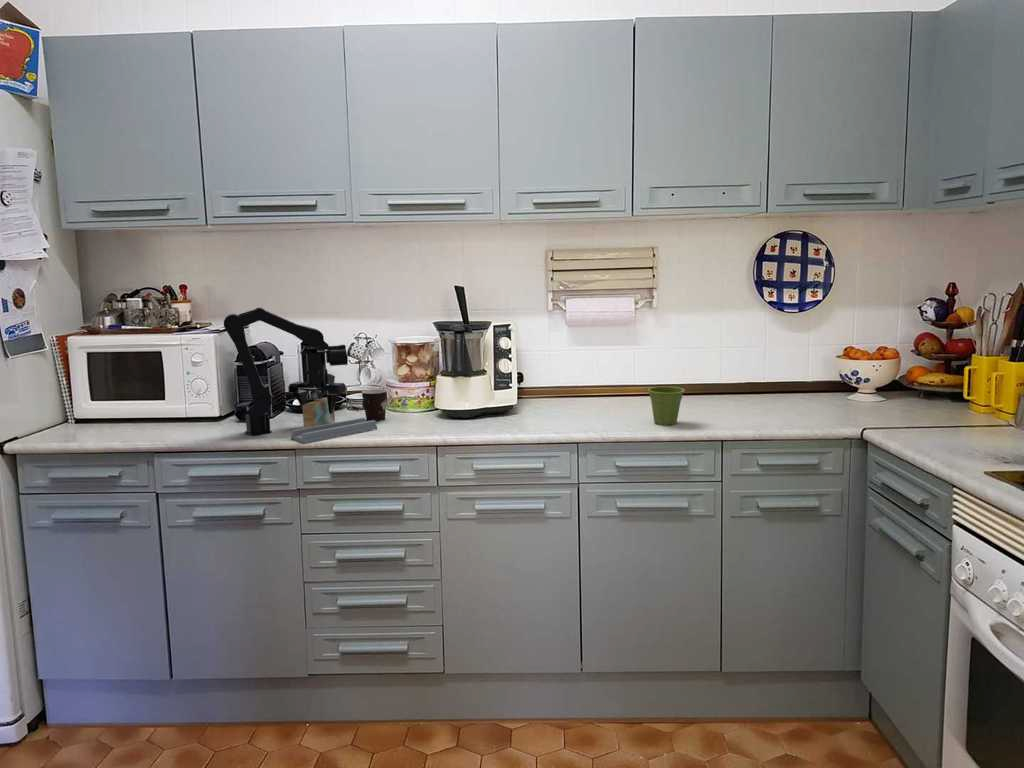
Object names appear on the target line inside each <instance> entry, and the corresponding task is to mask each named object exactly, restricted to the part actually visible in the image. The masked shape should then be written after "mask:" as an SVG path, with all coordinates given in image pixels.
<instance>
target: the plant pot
mask: <svg viewBox="0 0 1024 768" xmlns="http://www.w3.org/2000/svg"><path fill="white" fill-rule="evenodd" d="M647 391H648V392H649V393H648V394H649V398H650V402H651V408H652V416H653V422H654V423H655V424H657V425H660V426H669V425H676V424H677V423H678V417H679V412H680V407H681V401H682V399H683V394H684V392H685V391H686V389H684V388H681V387H677V386H654V387H653V386H652V387H649V388H647Z"/></svg>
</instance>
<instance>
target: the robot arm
mask: <svg viewBox="0 0 1024 768" xmlns="http://www.w3.org/2000/svg"><path fill="white" fill-rule="evenodd" d="M257 322H262V323H265V324H268V325H269V326H272V327H274V328H276V329H279V330H281V331H283V332H285V333H288V334H291V335H293V336H295V337H296V338H297V339H299V340H300V341H302V342H303V343H305V344H307V345H308V346H310V348H308V347H306V346H303V347H302V349H301V350H299V353H300V355H305V356H306V358H305V359H306V370H304V374H305V375H307V381H295V382H292V383H289V384H288V387H287V390H288V393H291V394H292V396H294V397H295V398H296V401H298V403H299V405H300V407H302V405H304V404H307V403H308V394H309V391H317V392H319V391H320V392H321V391H322V392H323V391H325V392H327V393H328V394H326V397H327V401H328V408H329V413H330V414H332V413H333V409H334V410H335V406H336V403H337V399H338V398H339V396H340V395H342V394H343V393H345V392H347V386H346V383H345V382H335V377H336V376H335V375H333V374H331V373H328V368H326V366H325V365H326V364H329V366H330V367H334V366H337V367H338V366H347V365H348V362H349V359H348V353H347V348H346V345H345V344H339V345H329V343H328V342H326V341H325V340H324V334H323V333H322V331H320V330H319V329H317V328H315V327H310V326H305V325H301V324H298V323H295V322H293V321H290V320H289V319H286V318H284V317H282V316H279V315H277V314H274V313H273V312H270V311H268V310H265V308H263V307H256V308H254V309H251V310H249V311H248V310H247V311H245V312H242V313H239V314H236V313H231V314H230V313H229V314H227V315H226V316H225V318H224V319H223V327H224V330H225V331H226V333H227V335H228V336H229V337H230V339H231V341H232V342H233V344H234V346H235V348H236V351H237V354H238V357H239V360H240V362H241V365H242V367H243V370H244V373H245V375H246V378H247V381H248V383H249V388H250V395H251V399H252V401H250V403H248V405H247V406H246V413H247V414H245V425H246V427H245V428H246V430H245V431H244V433H245V434H247V435H250V436H259V435H263V434H264V435H265V434H270V433H272V430H271V423H270V422H271V421H270V419H271V418H270V417H269V414H268V413H267V412H266V411H267V410H269V409H270V408H271V406H272V403H273V401H272V399H273V398H274V396H273V394H272V392H271V391H270V387H269V383H266V384H264V383H263V381H262V379H261V377H260V375H259V372H258V369H257V366H256V364H255V361H254V358H253V356H252V353H251V350H250V347H249V344H248V342H247V339H246V333H245V327H247V326H249V325H251V324H254V323H257ZM317 348H320V349H322V350H318V349H317ZM325 362H326V364H325Z"/></svg>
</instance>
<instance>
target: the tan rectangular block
mask: <svg viewBox="0 0 1024 768" xmlns="http://www.w3.org/2000/svg"><path fill="white" fill-rule="evenodd" d="M301 408H302V419H303V420H302V421H303V428H308V427H314V426H319V425H325V424H330V423H335V422H336V418H335V417H336V416H335V414H336V413H335V408H334V409H333V413H332V414H330V413H329V408H328V401H327V396H326V397H322V398H319V399H316V400H313V401H310V402H307V404H304V405H302V406H301Z"/></svg>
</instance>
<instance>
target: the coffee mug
mask: <svg viewBox="0 0 1024 768" xmlns="http://www.w3.org/2000/svg"><path fill="white" fill-rule="evenodd" d="M387 394H388V391H387V390H386V389H381V388H380V389H379V388H378V389H376V388H375V389H367V390H366V389H365V390H362V391H361V396H362V402H361V404H362V408H363V410H364V414H365V421H372V420H375V421H377V422H382V421H381V420H383V421H385V420H386V412H387V410H386V409H387V398H388V397H387V396H388V395H387Z"/></svg>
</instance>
